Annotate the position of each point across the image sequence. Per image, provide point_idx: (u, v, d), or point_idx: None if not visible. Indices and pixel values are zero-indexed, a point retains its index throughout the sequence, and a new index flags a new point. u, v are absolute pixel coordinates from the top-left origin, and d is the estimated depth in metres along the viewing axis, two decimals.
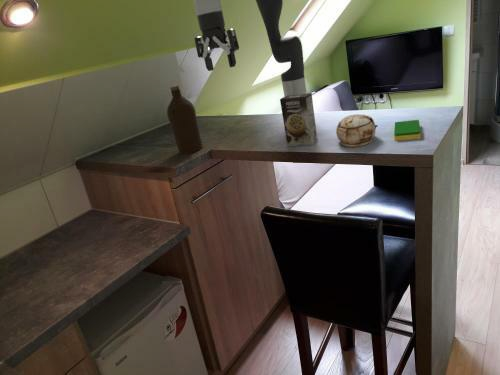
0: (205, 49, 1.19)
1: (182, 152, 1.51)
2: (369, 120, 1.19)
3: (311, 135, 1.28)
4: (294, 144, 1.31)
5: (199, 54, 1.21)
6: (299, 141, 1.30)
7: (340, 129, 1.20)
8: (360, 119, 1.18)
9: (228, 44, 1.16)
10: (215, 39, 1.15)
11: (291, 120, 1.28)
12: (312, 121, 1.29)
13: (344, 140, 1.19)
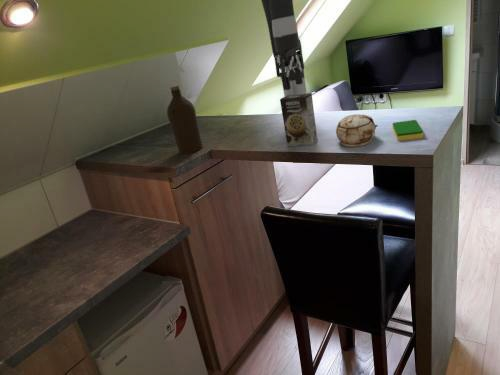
0: (290, 67, 1.21)
1: (182, 152, 1.51)
2: (369, 120, 1.19)
3: (311, 135, 1.28)
4: (294, 144, 1.31)
5: (284, 73, 1.19)
6: (299, 141, 1.30)
7: (340, 129, 1.20)
8: (359, 119, 1.18)
9: None
10: (297, 57, 1.23)
11: (291, 120, 1.28)
12: (312, 121, 1.29)
13: (344, 140, 1.19)
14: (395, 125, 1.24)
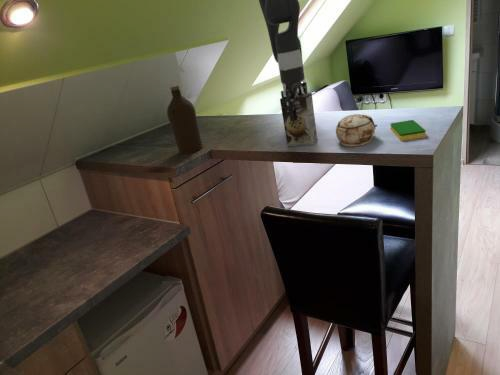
0: None
1: (182, 152, 1.51)
2: (368, 120, 1.19)
3: (311, 135, 1.28)
4: (294, 144, 1.31)
5: (291, 105, 1.23)
6: (299, 141, 1.30)
7: (340, 129, 1.20)
8: (359, 119, 1.18)
9: None
10: (302, 89, 1.27)
11: None
12: (312, 121, 1.29)
13: (344, 140, 1.19)
14: (394, 125, 1.23)
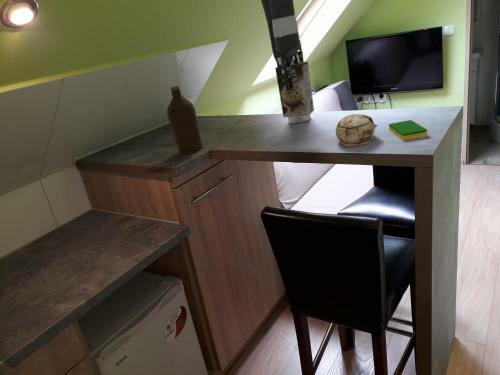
0: None
1: (182, 152, 1.51)
2: (368, 120, 1.19)
3: (307, 105, 1.24)
4: (290, 115, 1.28)
5: (287, 74, 1.19)
6: (295, 112, 1.27)
7: (339, 129, 1.20)
8: (359, 119, 1.18)
9: None
10: (297, 57, 1.23)
11: (286, 90, 1.25)
12: (309, 91, 1.25)
13: (343, 140, 1.19)
14: (393, 126, 1.23)
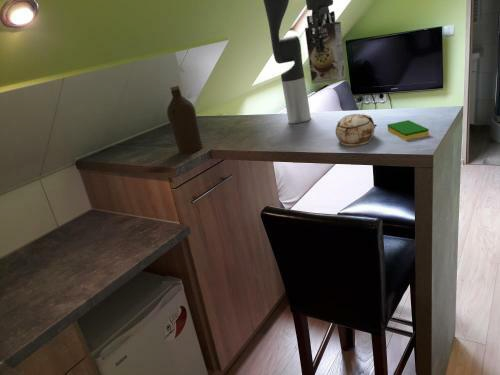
0: (323, 27, 1.11)
1: (182, 152, 1.51)
2: (368, 119, 1.19)
3: (339, 69, 1.14)
4: (319, 81, 1.18)
5: (318, 33, 1.10)
6: (325, 77, 1.17)
7: (339, 128, 1.20)
8: (359, 118, 1.19)
9: None
10: (329, 16, 1.13)
11: (316, 52, 1.15)
12: (341, 54, 1.15)
13: (343, 139, 1.19)
14: (393, 126, 1.23)
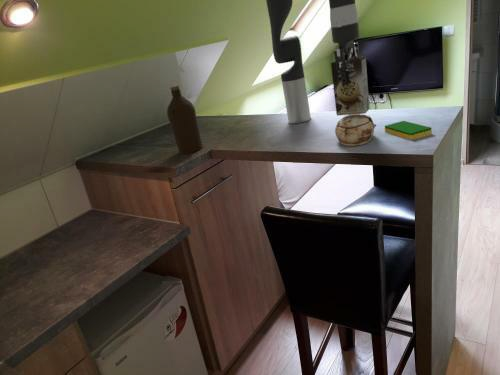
0: None
1: (182, 152, 1.51)
2: (368, 119, 1.20)
3: (365, 102, 1.16)
4: (345, 113, 1.19)
5: (345, 66, 1.11)
6: (350, 109, 1.18)
7: (339, 128, 1.20)
8: (358, 118, 1.19)
9: None
10: (355, 49, 1.15)
11: (342, 86, 1.16)
12: (366, 87, 1.17)
13: (343, 139, 1.20)
14: (392, 127, 1.22)
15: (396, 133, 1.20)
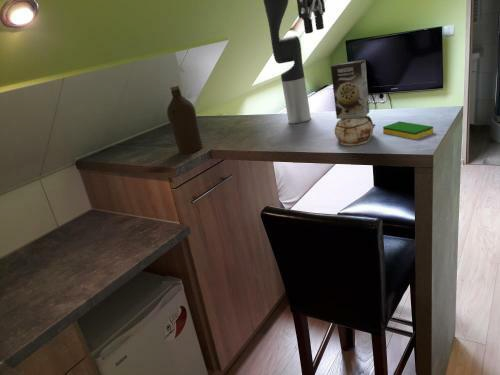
0: (313, 7, 1.10)
1: (182, 152, 1.51)
2: (367, 119, 1.20)
3: (364, 106, 1.17)
4: (344, 116, 1.20)
5: (307, 13, 1.09)
6: (350, 113, 1.19)
7: (338, 128, 1.21)
8: (357, 118, 1.19)
9: None
10: None
11: (342, 90, 1.17)
12: (366, 91, 1.18)
13: (342, 139, 1.20)
14: (392, 127, 1.22)
15: (397, 133, 1.20)
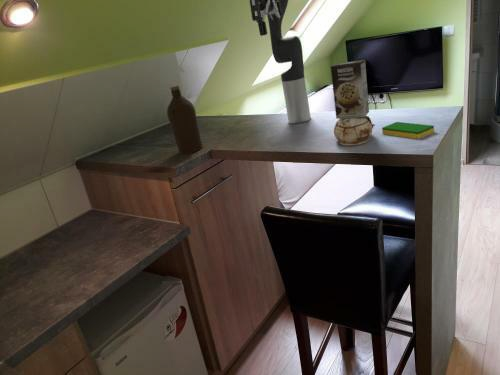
0: (266, 10, 1.15)
1: (182, 152, 1.51)
2: (366, 119, 1.20)
3: (364, 106, 1.17)
4: (344, 116, 1.21)
5: (260, 16, 1.14)
6: (350, 113, 1.19)
7: (337, 128, 1.21)
8: (357, 118, 1.20)
9: None
10: (273, 1, 1.18)
11: (342, 90, 1.18)
12: (365, 91, 1.18)
13: (341, 139, 1.20)
14: (392, 128, 1.21)
15: (398, 134, 1.19)
